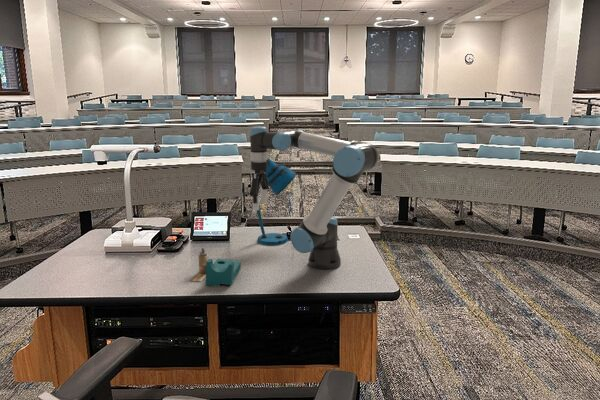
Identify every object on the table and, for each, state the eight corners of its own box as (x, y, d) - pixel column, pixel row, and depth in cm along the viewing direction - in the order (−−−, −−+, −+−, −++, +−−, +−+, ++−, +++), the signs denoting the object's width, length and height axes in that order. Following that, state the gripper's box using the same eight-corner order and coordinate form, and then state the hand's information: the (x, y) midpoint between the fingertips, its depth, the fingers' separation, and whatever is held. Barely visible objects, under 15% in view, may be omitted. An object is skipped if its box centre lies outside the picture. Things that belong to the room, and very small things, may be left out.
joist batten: (215, 268, 222) (215, 267, 222) (200, 282, 207) (200, 281, 207) (204, 267, 223) (204, 266, 223) (189, 281, 208) (189, 280, 208)
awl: (210, 270, 218) (209, 247, 216) (207, 274, 214) (205, 250, 211) (201, 269, 219) (200, 246, 217) (197, 273, 215) (196, 249, 212)
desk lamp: (297, 245, 253) (296, 159, 243) (255, 245, 253) (252, 160, 242) (296, 235, 269) (296, 155, 259) (257, 236, 269) (254, 155, 258)
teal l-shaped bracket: (230, 288, 202) (232, 264, 200) (205, 285, 203) (206, 261, 200) (240, 271, 219) (241, 250, 217) (216, 269, 220) (217, 247, 218)
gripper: (259, 156, 233) (260, 199, 238) (242, 165, 209) (243, 212, 214) (274, 157, 231) (275, 200, 236) (258, 165, 208) (260, 213, 213)
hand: (260, 206), depth 225 cm, fingers open, 13 cm apart
